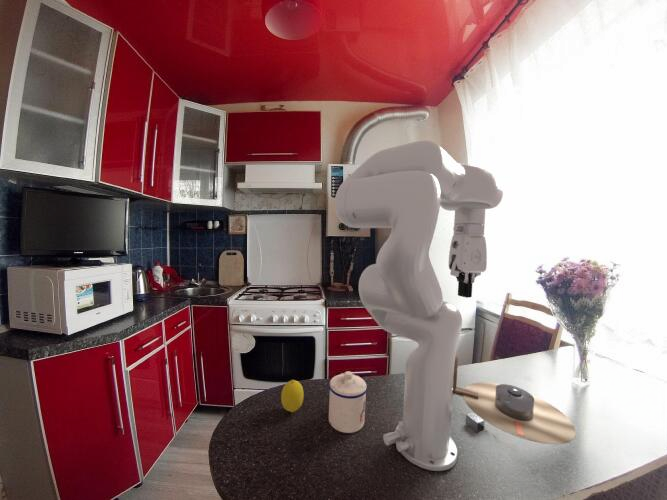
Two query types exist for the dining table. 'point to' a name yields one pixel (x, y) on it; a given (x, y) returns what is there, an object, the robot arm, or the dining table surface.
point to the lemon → (292, 396)
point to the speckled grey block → (475, 422)
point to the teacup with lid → (347, 402)
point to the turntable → (542, 428)
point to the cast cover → (514, 402)
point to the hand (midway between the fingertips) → (464, 296)
